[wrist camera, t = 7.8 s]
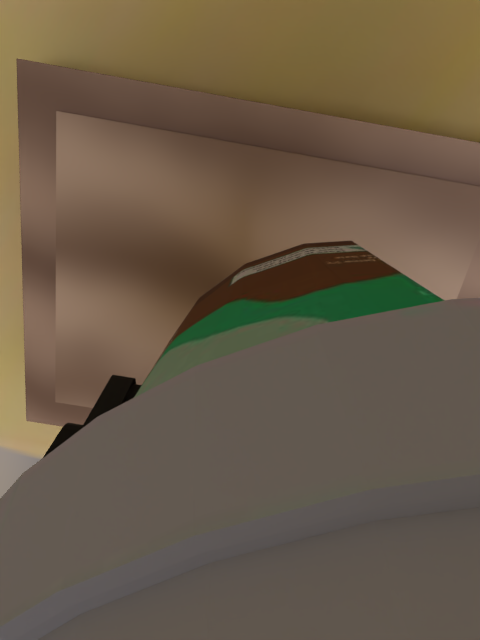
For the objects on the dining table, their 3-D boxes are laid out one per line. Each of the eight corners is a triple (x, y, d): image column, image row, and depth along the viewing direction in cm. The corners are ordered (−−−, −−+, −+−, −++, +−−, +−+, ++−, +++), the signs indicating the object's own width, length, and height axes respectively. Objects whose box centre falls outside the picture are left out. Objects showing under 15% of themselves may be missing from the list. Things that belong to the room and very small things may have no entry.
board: (51, 68, 19) (14, 57, 16) (509, 151, 20) (552, 155, 17) (51, 388, 25) (25, 422, 23) (399, 443, 26) (416, 483, 23)
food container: (95, 172, 11) (-912, 451, 1) (358, 176, 10) (1067, 529, 1) (135, 549, 16) (-44, 1164, 6) (316, 557, 15) (402, 1202, 6)
